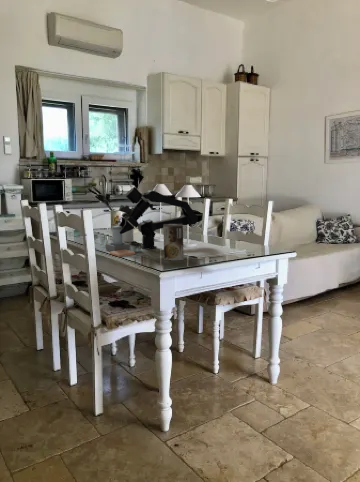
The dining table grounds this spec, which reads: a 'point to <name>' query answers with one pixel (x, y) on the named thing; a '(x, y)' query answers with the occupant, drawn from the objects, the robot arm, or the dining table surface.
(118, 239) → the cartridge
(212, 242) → the dining table surface
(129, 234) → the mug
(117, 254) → the dock
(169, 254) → the coffee box
